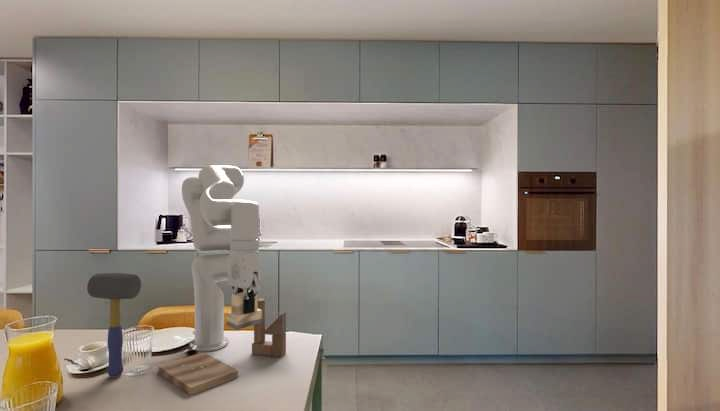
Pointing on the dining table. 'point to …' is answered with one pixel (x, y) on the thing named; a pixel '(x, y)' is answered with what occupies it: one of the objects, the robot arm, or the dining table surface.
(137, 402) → the dining table surface
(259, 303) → the wooden block
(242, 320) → the block
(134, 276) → the rubber mallet
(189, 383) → the walnut board
